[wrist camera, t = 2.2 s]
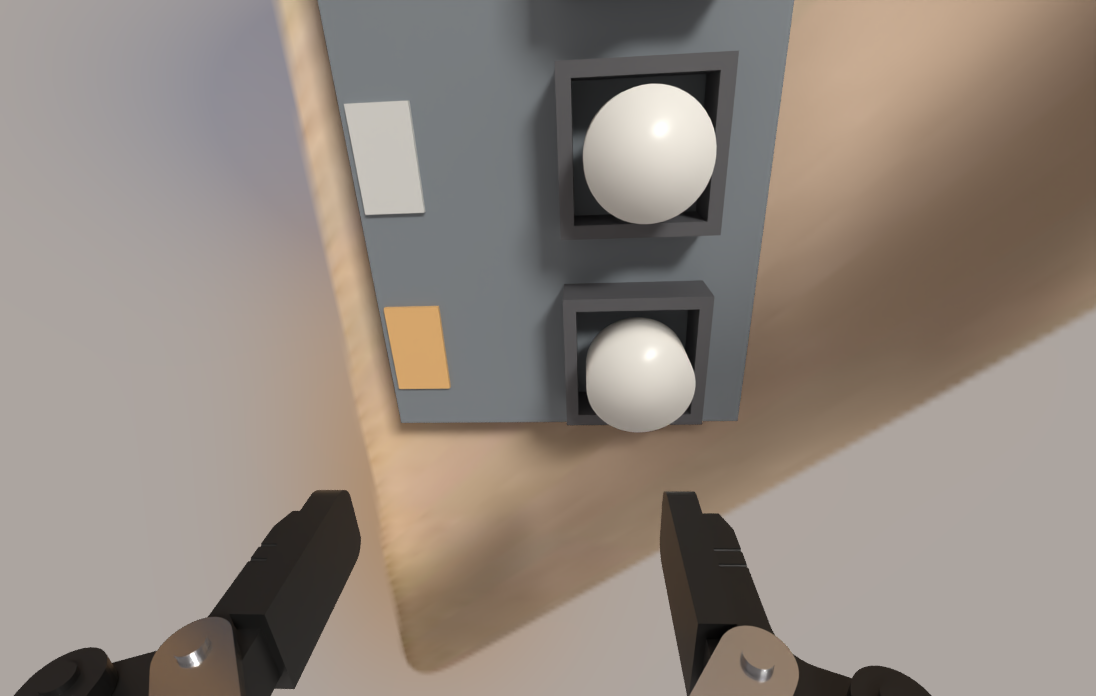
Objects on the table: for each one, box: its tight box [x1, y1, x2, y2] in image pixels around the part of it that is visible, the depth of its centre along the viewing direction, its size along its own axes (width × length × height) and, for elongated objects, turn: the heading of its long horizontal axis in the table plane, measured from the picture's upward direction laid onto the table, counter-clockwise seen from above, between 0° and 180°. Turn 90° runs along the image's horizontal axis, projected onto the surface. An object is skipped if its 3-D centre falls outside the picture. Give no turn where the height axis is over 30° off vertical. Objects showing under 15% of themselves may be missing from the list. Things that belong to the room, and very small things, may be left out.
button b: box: [583, 84, 717, 224], centre depth 16 cm, size 4×4×2 cm
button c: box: [586, 317, 695, 432], centre depth 20 cm, size 4×4×2 cm
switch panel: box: [318, 0, 794, 425], centre depth 19 cm, size 16×24×4 cm, turn 3°
